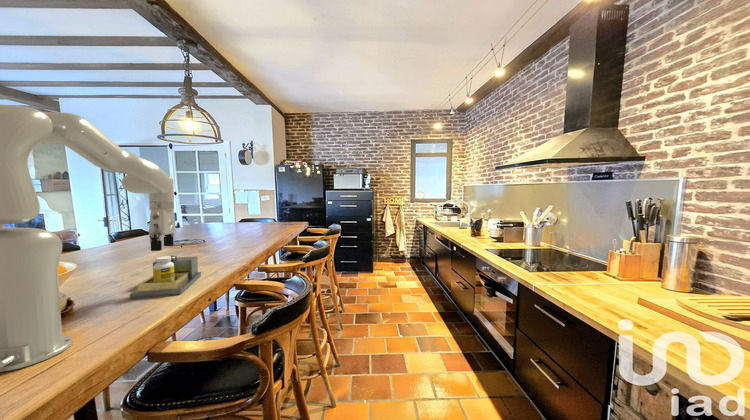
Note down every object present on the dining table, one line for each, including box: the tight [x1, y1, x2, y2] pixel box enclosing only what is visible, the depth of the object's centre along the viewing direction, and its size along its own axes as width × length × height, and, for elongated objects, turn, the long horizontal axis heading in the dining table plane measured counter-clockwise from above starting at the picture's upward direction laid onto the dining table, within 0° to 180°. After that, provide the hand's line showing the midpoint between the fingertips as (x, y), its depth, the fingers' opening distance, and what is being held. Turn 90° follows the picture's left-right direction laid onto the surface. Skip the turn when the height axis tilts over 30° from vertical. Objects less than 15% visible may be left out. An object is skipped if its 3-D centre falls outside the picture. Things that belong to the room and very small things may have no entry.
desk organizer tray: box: [129, 255, 202, 300], centre depth 103 cm, size 22×16×11 cm
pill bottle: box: [152, 255, 174, 283], centre depth 99 cm, size 6×6×12 cm
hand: (162, 248), depth 98 cm, fingers open, 9 cm apart
